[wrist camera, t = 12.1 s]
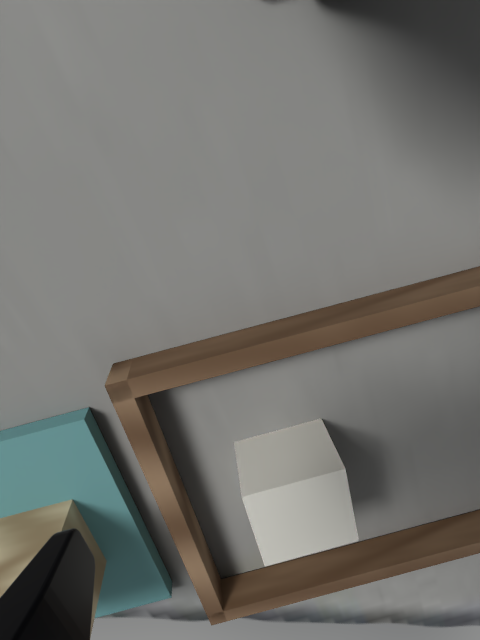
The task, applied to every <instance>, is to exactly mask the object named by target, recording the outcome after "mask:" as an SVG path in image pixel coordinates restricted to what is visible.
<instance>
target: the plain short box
mask: <svg viewBox="0 0 480 640" xmlns="http://www.w3.org/2000/svg"><path fill="white" fill-rule="evenodd" d="M234 446H235V453H236V460H237V467H238V474H239V482H240V489H241V496H242V500H243V503H244V506H245V509H246V512H247V515H248V518H249V520H250V523H251V526H252V529H253V532H254V535H255V538H256V541H257V544H258V547H259V550H260V553H261V556H262V559H263V562H264V565H265V566H269V565H272V564H276V563H280V562H283V561H287V560H291V559H294V558H298V557H302V556H305V555H309V554H312V553H316V552H320V551H323V550H327V549H331V548H334V547H338V546H342V545H345V544H349V543H353V542H356V541H359V539H358V534H357V528H356V523H355V517H354V512H353V507H352V501H351V496H350V490H349V485H348V480H347V474H346V469H345V467H344V465H343V462H342V460H341V458H340V456H339V454H338V452H337V450H336V448H335V446H334V444H333V442H332V440H331V438H330V436H329V434H328V431H327V429H326V427H325V425H324V423H323V421H322V419H317V420H313V421H310V422H306V423H302V424H299V425H295V426H291V427H288V428H284V429H281V430H277V431H273V432H270V433H266V434H262V435H259V436H255V437H251V438H248V439H244V440H240V441H237V442H234Z"/></svg>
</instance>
